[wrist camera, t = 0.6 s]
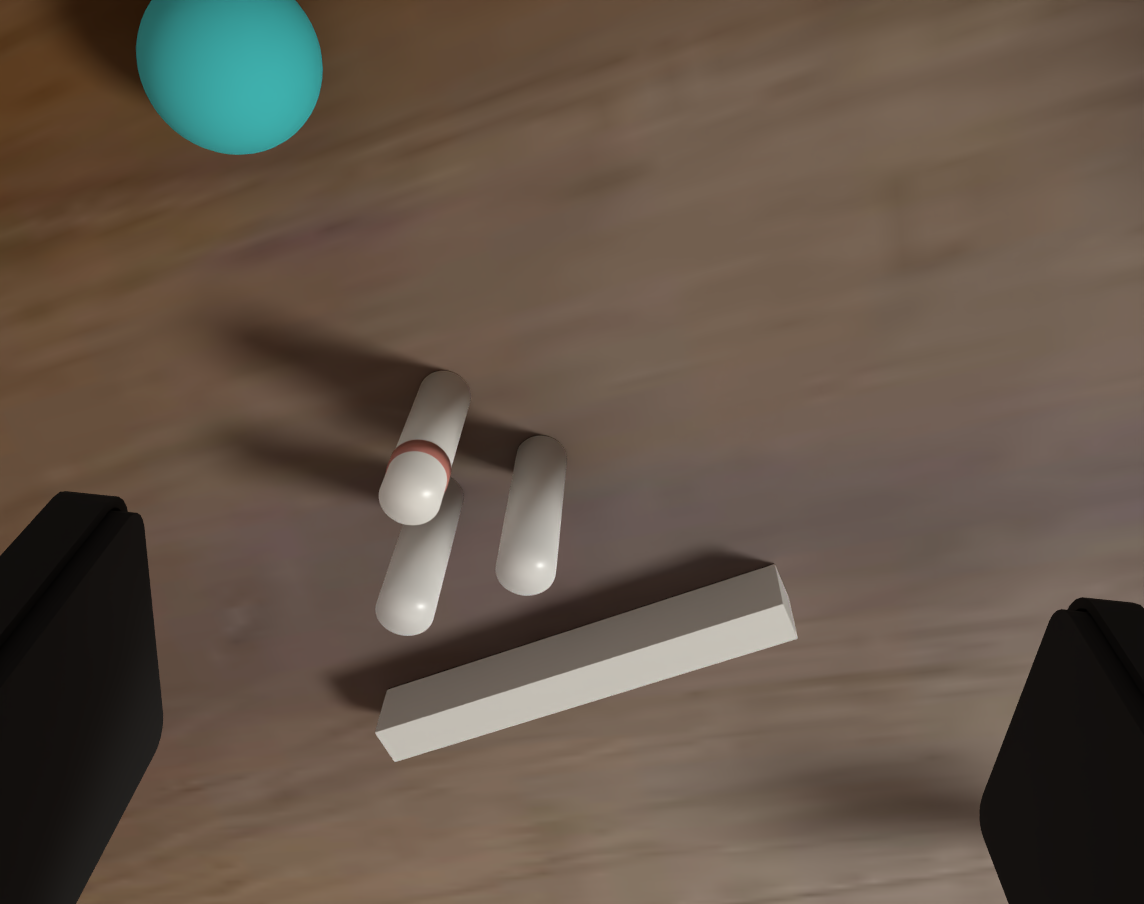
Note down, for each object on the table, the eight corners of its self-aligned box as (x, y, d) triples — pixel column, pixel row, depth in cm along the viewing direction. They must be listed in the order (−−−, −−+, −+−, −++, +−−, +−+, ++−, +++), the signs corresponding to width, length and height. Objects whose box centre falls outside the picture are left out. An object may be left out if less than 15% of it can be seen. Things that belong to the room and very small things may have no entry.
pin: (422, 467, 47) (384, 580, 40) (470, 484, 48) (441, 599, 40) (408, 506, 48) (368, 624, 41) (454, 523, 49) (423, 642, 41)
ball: (193, -70, 38) (123, -59, 32) (359, -1, 38) (317, 20, 33) (161, 97, 40) (91, 132, 35) (316, 157, 41) (271, 201, 36)
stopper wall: (387, 689, 54) (374, 732, 51) (774, 563, 49) (783, 603, 46) (406, 718, 54) (394, 761, 52) (788, 597, 50) (797, 638, 47)
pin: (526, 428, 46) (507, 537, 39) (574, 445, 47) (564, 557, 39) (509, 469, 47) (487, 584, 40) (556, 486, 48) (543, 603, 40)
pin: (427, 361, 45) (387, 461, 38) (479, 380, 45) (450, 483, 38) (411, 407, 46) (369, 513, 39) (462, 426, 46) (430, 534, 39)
